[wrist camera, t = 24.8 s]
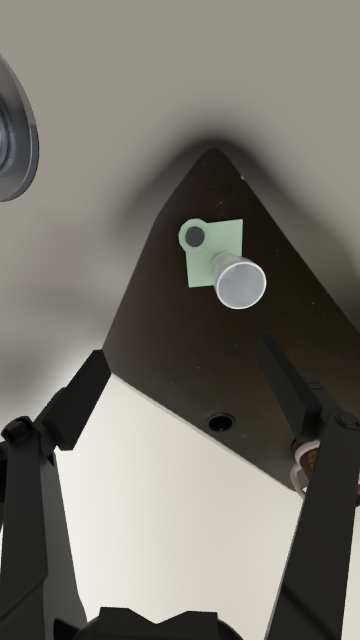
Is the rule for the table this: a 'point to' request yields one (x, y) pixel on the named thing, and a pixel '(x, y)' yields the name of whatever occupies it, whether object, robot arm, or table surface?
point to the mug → (308, 464)
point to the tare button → (194, 236)
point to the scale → (209, 247)
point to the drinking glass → (237, 280)
